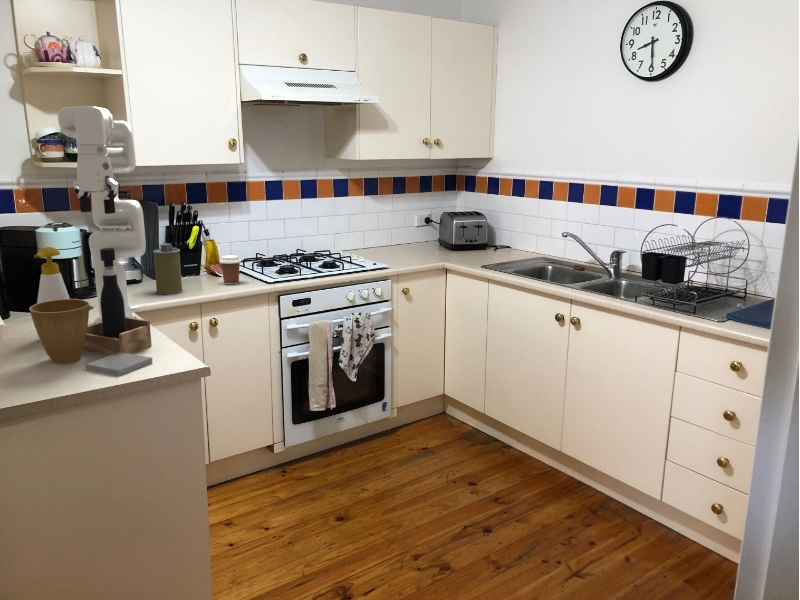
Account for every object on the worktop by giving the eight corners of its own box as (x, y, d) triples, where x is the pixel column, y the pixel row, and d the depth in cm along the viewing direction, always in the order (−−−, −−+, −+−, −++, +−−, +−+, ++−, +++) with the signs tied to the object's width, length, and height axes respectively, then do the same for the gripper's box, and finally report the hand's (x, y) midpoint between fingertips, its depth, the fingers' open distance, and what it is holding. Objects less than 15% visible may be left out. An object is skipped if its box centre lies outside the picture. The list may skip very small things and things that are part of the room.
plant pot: (28, 359, 187) (22, 304, 183) (83, 348, 197) (78, 296, 193) (46, 372, 177) (39, 314, 173) (102, 360, 187) (97, 305, 183)
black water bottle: (119, 351, 195) (110, 251, 188) (100, 350, 196) (90, 250, 189) (132, 345, 201) (123, 247, 194) (113, 344, 202) (103, 246, 195)
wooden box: (112, 339, 207) (110, 314, 205) (151, 345, 200) (149, 320, 199) (80, 349, 196) (77, 323, 194) (120, 356, 190) (118, 330, 188)
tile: (120, 356, 190) (120, 351, 189) (152, 362, 185) (152, 357, 185) (86, 369, 179) (85, 364, 179) (119, 375, 174) (118, 370, 174)
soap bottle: (26, 344, 201) (14, 249, 194) (45, 334, 211) (35, 244, 204) (67, 345, 200) (57, 250, 193) (85, 335, 210) (75, 245, 204)
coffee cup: (231, 286, 285) (229, 258, 283) (216, 283, 290) (214, 256, 287) (246, 282, 293) (245, 256, 290) (231, 280, 298) (230, 254, 295)
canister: (171, 295, 267) (168, 246, 263) (150, 293, 271) (146, 244, 266) (188, 290, 277) (185, 242, 273) (168, 288, 281) (164, 241, 276)
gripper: (125, 152, 186) (130, 213, 189) (82, 151, 193) (87, 210, 196) (103, 151, 179) (108, 215, 183) (59, 151, 186) (65, 212, 190)
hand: (97, 212), depth 190 cm, fingers open, 9 cm apart
